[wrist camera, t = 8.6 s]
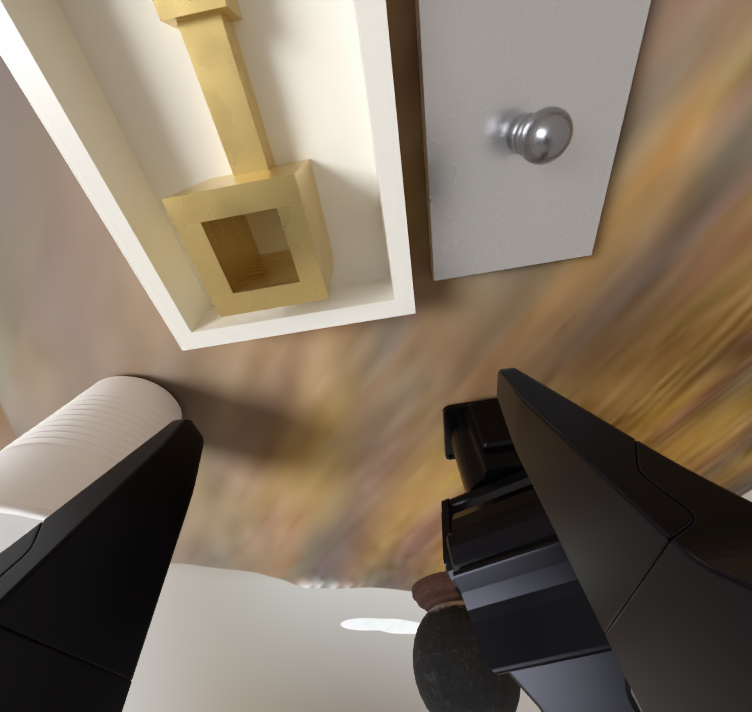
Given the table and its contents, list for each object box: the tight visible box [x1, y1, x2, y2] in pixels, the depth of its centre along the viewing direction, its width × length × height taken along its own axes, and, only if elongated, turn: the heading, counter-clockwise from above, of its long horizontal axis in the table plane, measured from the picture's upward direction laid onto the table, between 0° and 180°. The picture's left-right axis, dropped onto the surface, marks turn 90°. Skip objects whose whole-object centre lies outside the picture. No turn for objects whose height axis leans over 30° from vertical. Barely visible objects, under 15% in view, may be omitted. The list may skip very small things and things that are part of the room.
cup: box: [0, 376, 182, 553], centre depth 21 cm, size 10×10×11 cm
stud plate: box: [415, 0, 651, 281], centre depth 14 cm, size 16×9×4 cm, turn 9°
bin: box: [0, 0, 416, 351], centre depth 14 cm, size 17×13×4 cm
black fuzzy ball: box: [412, 571, 520, 712], centre depth 43 cm, size 13×13×15 cm
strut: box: [152, 0, 334, 317], centre depth 13 cm, size 12×5×5 cm, turn 9°
